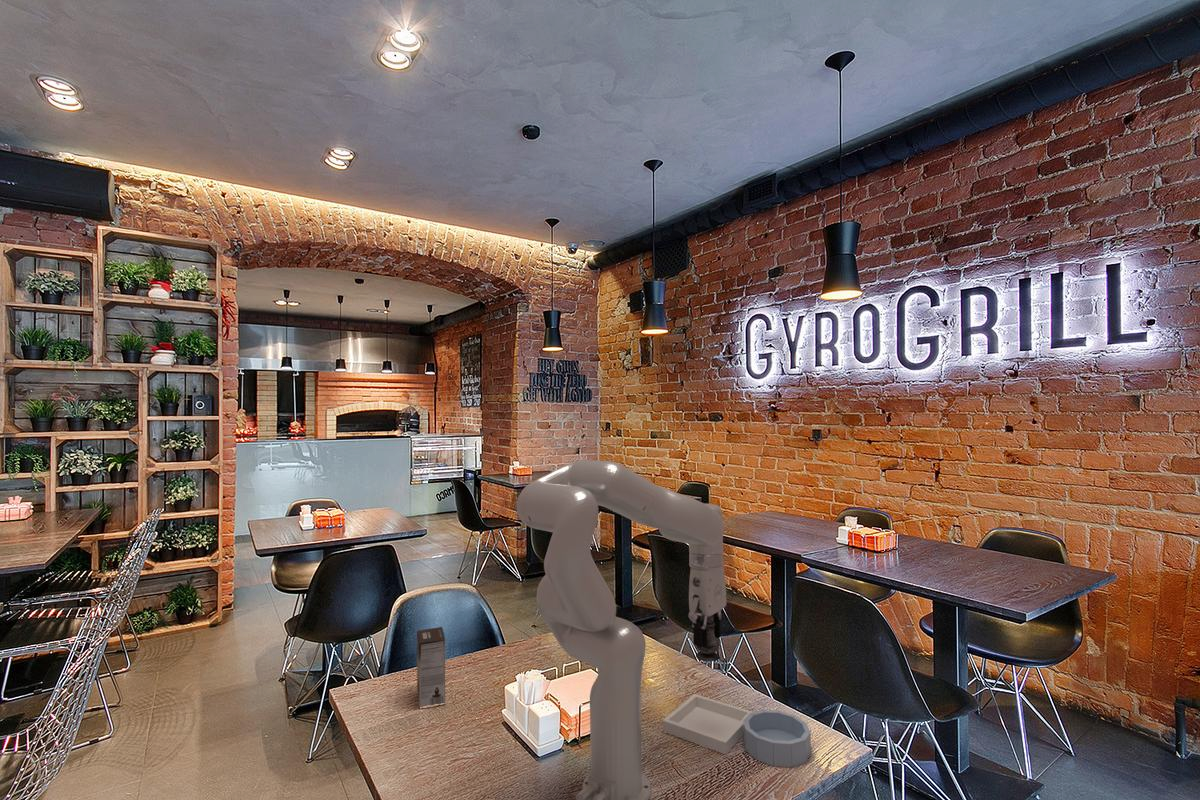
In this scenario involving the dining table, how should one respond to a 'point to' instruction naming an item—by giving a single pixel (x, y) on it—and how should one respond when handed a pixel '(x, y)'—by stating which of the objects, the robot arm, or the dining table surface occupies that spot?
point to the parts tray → (707, 723)
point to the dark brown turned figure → (709, 643)
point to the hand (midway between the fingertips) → (707, 640)
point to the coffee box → (431, 666)
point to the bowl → (777, 738)
